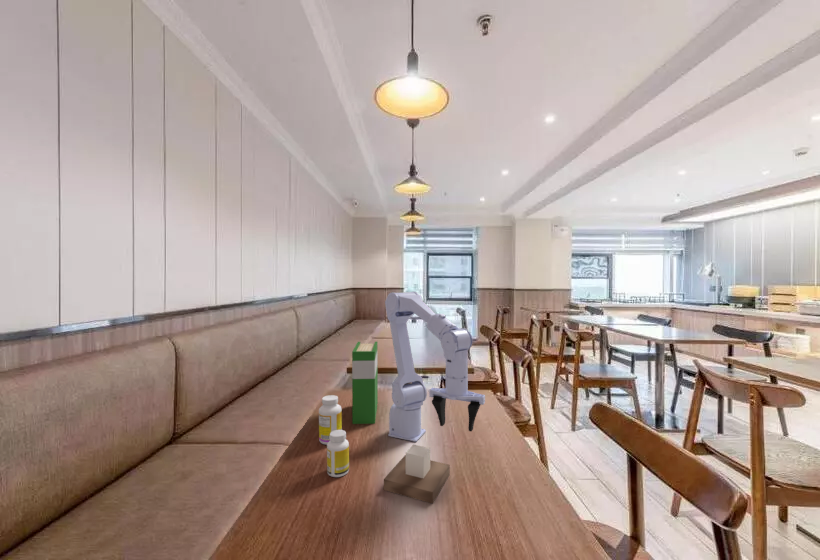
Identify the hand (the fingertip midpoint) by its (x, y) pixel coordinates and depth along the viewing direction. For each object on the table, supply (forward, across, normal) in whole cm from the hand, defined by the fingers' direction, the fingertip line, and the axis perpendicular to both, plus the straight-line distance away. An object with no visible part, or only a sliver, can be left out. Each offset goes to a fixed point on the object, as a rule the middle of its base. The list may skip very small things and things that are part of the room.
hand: (456, 427), depth 92 cm
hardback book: (+10, -39, +19) cm, 44 cm away
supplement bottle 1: (+10, -38, -3) cm, 39 cm away
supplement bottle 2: (+10, -26, -16) cm, 32 cm away
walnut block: (+9, -6, -12) cm, 16 cm away
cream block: (+7, -6, -12) cm, 15 cm away
